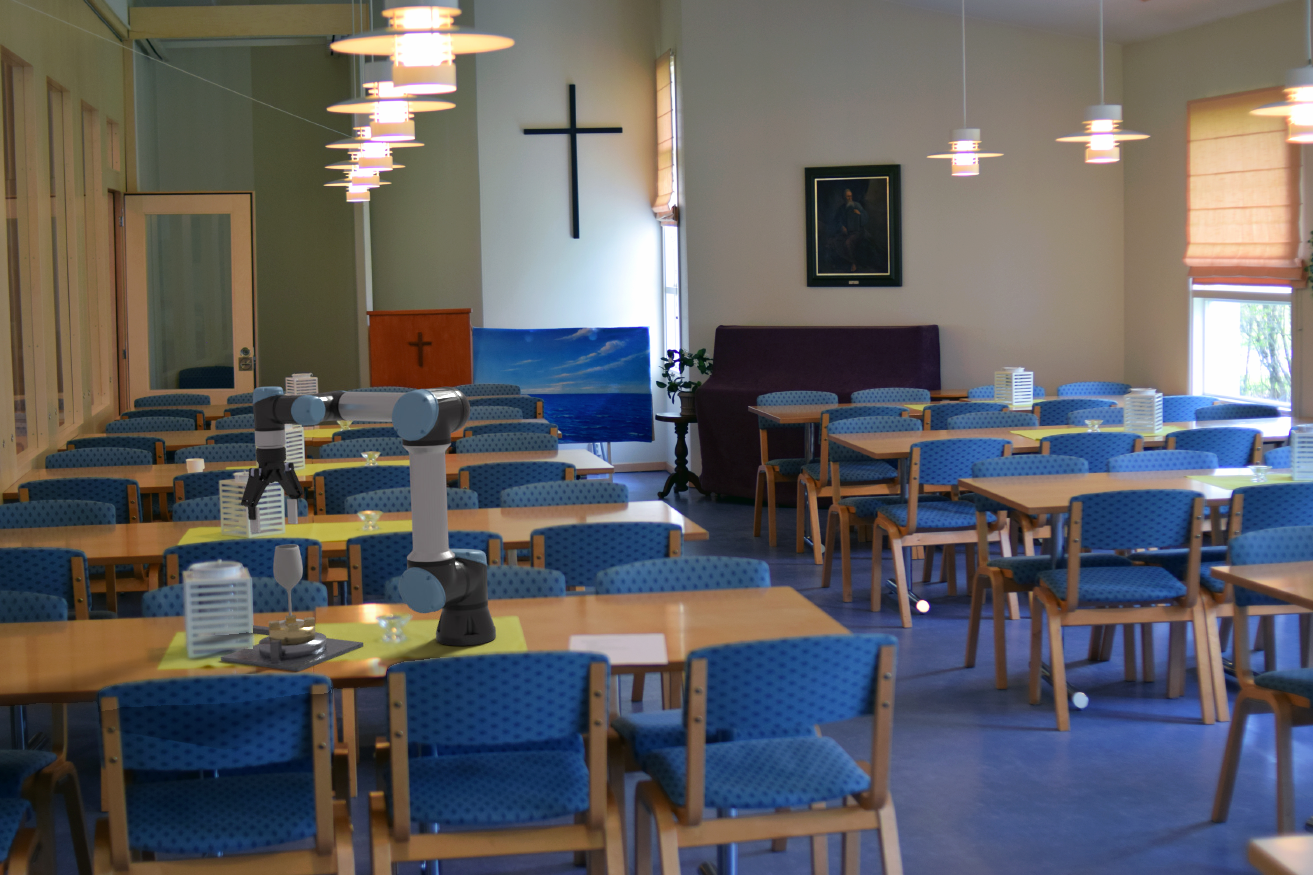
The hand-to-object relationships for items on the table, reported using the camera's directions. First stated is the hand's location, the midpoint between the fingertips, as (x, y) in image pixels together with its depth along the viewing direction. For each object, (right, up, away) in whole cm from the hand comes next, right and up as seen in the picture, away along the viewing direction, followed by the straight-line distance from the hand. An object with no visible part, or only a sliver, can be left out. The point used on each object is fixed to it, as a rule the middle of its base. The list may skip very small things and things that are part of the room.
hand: (274, 527), depth 340 cm
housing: (+10, -30, -17) cm, 36 cm away
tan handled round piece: (+4, -26, -15) cm, 30 cm away
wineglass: (0, -27, +14) cm, 30 cm away
